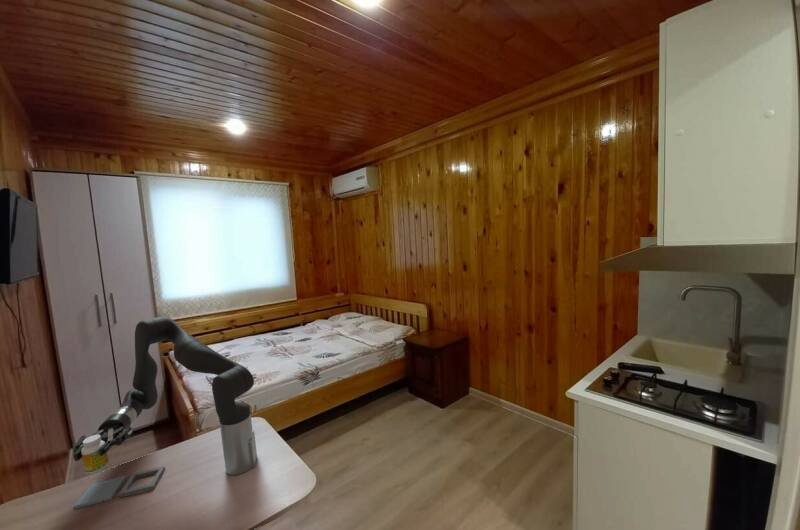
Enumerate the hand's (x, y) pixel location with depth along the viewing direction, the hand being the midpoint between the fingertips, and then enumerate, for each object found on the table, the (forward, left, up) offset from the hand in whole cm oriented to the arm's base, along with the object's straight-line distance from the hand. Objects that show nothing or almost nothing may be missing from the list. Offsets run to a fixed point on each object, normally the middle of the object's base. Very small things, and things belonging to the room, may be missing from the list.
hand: (88, 455), depth 96 cm
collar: (-11, -2, -14) cm, 18 cm away
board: (0, -2, -14) cm, 14 cm away
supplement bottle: (0, -3, -6) cm, 7 cm away
